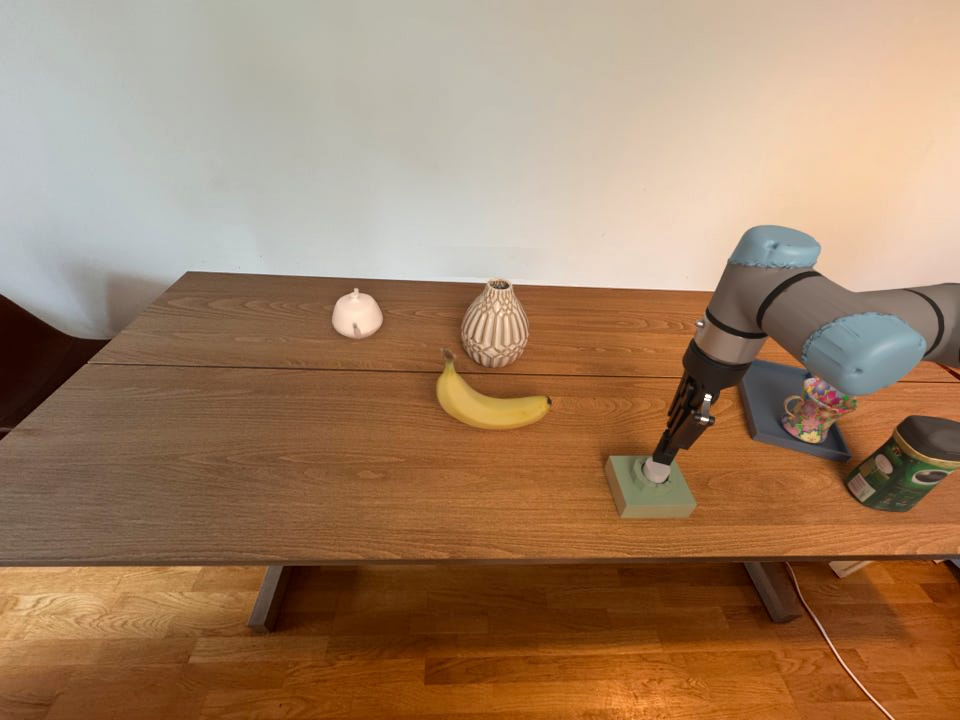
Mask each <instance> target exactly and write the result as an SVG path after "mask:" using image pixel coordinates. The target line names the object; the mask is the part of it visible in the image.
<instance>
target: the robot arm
mask: <svg viewBox="0 0 960 720" xmlns="http://www.w3.org/2000/svg"><path fill="white" fill-rule="evenodd" d="M821 252H822V245H821V243H820V242H819V241H817V240H816V238H815V237H814V236H812V235H811V234H808V233H806V232H804V231H801V230H798V229H795V228H791V227H789V226H788V227H787V226H782V225H777V224H776V225H775V224H762V225H761V224H759V225H755V226H752V227H751V228H748V229H746V231H745V232H744V233H743V234H742V236H741V238H740V239H739V241H738V243H737V244H736V246H735V248H734V250H733V251H732V253H731V255H730V257H728V258H727V261H726V264H725V266H724V270H723V272H722V274H721V276H720V278H719V281H718V284H717V285H716V288H715V290H714V291H713V294H712V296H711V298H710V300H709V302H708V305H707V306H706V308H705V311H704V313H703V315H702V318H701V319H696V320H695V322H694V326H695V327H696V330H695V331H694V334H693V337H692V338H691V340H690V341H689V342H688V345H687V348H686V349H685V352H684V353H683V356H682V360H681V364H682V367H683V373H682V376H681V378H680V380H679V383H678V385H677V389H676V391H675V393H674V396H673V399H672V401H671V403H670V406H669V409H668V411H667V417H669V418H668V420H667V422H666V428H665V429H664V431H663V432H662V435H661V437H660V439H659V441H658V443H657V445H656V446H655V448H654V451H653V452H652V455H651V456H652V458H653V462H656V463H660V464H664V465H667V466H670V465H671V463H672V461H673V459H674V458H675V459H676V456H677V454H678V453H679V451H680V450H685V451H688V450H689V449H690V448H691V447H692V446H693V445H694V444H695V443H696V441H697V440H698V439H699V438H700V437H701V436H702V434H704V433H705V431H706V430H707V429H708V428H710V427H712V426H714V425H715V423H716V417H715V416H713V415H712V414H711V413H710V411H711V407H712V406H713V405H714V404H716V402H717V401H718V400H719V398H720V396H721V391H723V390H726V389H731V388H734V387H736V386H739V385H738V384H739V383H740V382H741V380H742V378H743V377H744V375H745V374H746V372H747V370H748V369H749V367H750V366H751V363H752V361H753V360H754V359H755V358H756V359H757V357H758V355H759V354H760V352H761V351H762V348H763V347H764V346H765V344H766V342H767V341H768V340H769V338H770V339H772V341H774V342H775V343H777V345H779V346H780V347H781V348H782V349H783V350H784V351H786V352H787V353H788V354H789V355H790V356H791V357H793V358H794V359H795V360H796V361H798V363H800V364H801V365H802V366H803V367H804V369H807V370H808V371H809V372H811V373H812V374H813V375H814V376H815V377H817V378H820V379H822V380H824V381H825V382H826V383H828V384H829V385H831V386H832V387H833V388H835V389H836V390H838V391H839V392H841V393H843V394H846V395H850V396H855V397H863V396H868V395H869V396H870V395H873V394H875V393H877V392H878V391H879V390H881V389H887V388H889V387H891V386H893V385H894V384H896V383H898V382H899V381H901V380H902V379H903V378H905V377H906V376H907V375H908V374H909V373H911V372H912V370H913V369H915V368H916V367H917V366H918V364H919V363H920V362H929V363H933V364H934V363H935V364H937V365H942V366H945V367H948V368H952V369H956V370H959V371H960V282H941V283H937V284H931V285H923V286H911V287H901V288H891V289H879V290H865V291H852V290H850V289H848V288H846V287H844V286H842V285H840V284H838V283H836V282H835V281H833V280H831V279H829V278H828V277H826V276H825V275H823V274H822V273H821V272H819V271H817V270H816V269H814V267H815V266H816V265H817V263H818V258H819V257H820V254H821Z"/></svg>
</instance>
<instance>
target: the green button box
mask: <svg viewBox="0 0 960 720" xmlns="http://www.w3.org/2000/svg"><path fill="white" fill-rule="evenodd" d="M650 457H652V455H609V456H608V458H607V460H606V463H605V465H604V467H603V470H604V473H605V477H606V479H607V483H608V485H609V488H610V492H611V495H612V498H613V501H614V504H615V506H616V510H617V513H618V516H619V519H672V518H673V519H676V518H677V519H679V518H681V519H682V518H686V519H687V518H689V517H690V516H691V515H692V514H693V512H694V510H695V509H696V507H697V506H698V503H697V501H696V499H695V497H694V495H693V493H692V491H691V489H690V487H689V485H688V482H687V481H686V479H685V477H684V475H683V473H682V470H681V468H680V466H679V465H678V462H677V460H676V457H675V458H674V459H673V461H672V463H671V465H670V470H671V471H670V474H669V475H668V477H667V479H666V481H665V482H663V483H660V484H657V483H654V482H651V481H649V480H648V479H647V478H646V477H645V476H644V475H643V472H642V468H643V466H644V464H645V462H646V460H647V459H648V458H650Z"/></svg>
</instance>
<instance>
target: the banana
mask: <svg viewBox="0 0 960 720" xmlns="http://www.w3.org/2000/svg"><path fill="white" fill-rule="evenodd" d="M439 352H440V354H441V356H440V357H441V359H442V360H443V361H444V363H445V365H444V366H445V367H444V369H443V372H442V373H441V374H440V375H439V377H438V378H437V380H436V383H435V393H436V399H437V402H438V404H439V405H440V406H441V408H442V409H443V410H444V411H445V413H447V414H448V415H450V416H451V417H453V418H454V419H456V420H458V421H459V422H461V423H463V424H466V425H468V426H471V427H473V428H478V429H483V430H498V431H501V430H513V429H518V428H519V429H520V428H523V427H526V426H530V425H532V424H535V423H536V422H538V421H539V420H541V419H542V418H544V417H545V416H546V415H547V414H548V412H549V411H550V409H551V407H552V405H553V402H552V399H551V398H550V396H548V395H531V396H523V397H515V398H497V397H491V396H487V395H484V394H482V393H480V392H478V391H476V390H475V389H473V388H472V387H471V386H470V385H469V384H468V383H467V382H466V381H465V380H464V378H462V376H461V375H460V374H459V373H458V372H456V369H455V366H454V361H455V360H456V359H458V356H457V355H456V354H455V352H453V351H452V348H451V347H447V346H443V347H441V348H440V350H439Z"/></svg>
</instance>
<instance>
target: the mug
mask: <svg viewBox="0 0 960 720" xmlns="http://www.w3.org/2000/svg"><path fill="white" fill-rule="evenodd" d="M793 399H799V401H798V403H797V404H796V405H795V406H794V407H793V408H792V409H791V410H790V411H788V410H787V403H788V402H789V401H790V400H793ZM783 406H784V409H785V411H786V412H785V413H783V414H782V415H781V418H780V420H781V424H782V426H783V427H784V428H785V429H786V430H787V431H788V432H789V433H790V434H791V435H793V436H794V437H796V438H798V439H800V440H803V441H805V442H809V443H821V442H823V441H825V440H826V438H827V432H828V429H829V428H830V426H831V425H832V424H833V423H834V422H835V421H836V422H837V420H839V419H840V418H842V417H844V416H846V415H848V414H850V413H853V412H855V411H856V410H858V408H859V401H858V399H857V396H850V395H846V394H843V393H841V392H839V391H838V390H836V389H835V388H833V387H832V386H831V385H829V384H828V383H826V382H825V381H824V380H822V379H820V378H819V377H815V378H809V379H807V380H805V381H804V382H803V385H802V393H801V396H791V397H788V398H787V399H786V400H785V401H784V404H783Z"/></svg>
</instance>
